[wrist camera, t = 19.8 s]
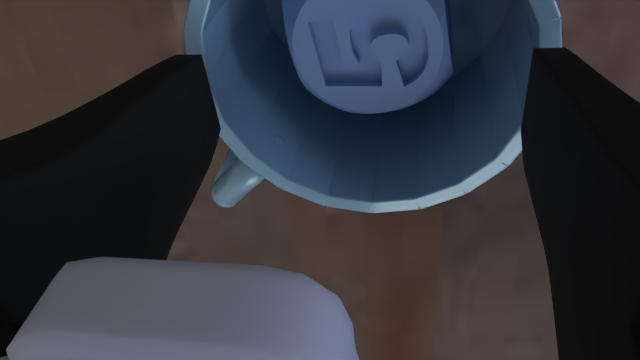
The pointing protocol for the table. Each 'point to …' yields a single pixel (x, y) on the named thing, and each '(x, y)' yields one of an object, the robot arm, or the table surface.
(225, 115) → the mug
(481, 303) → the table surface
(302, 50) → the decorative dice
